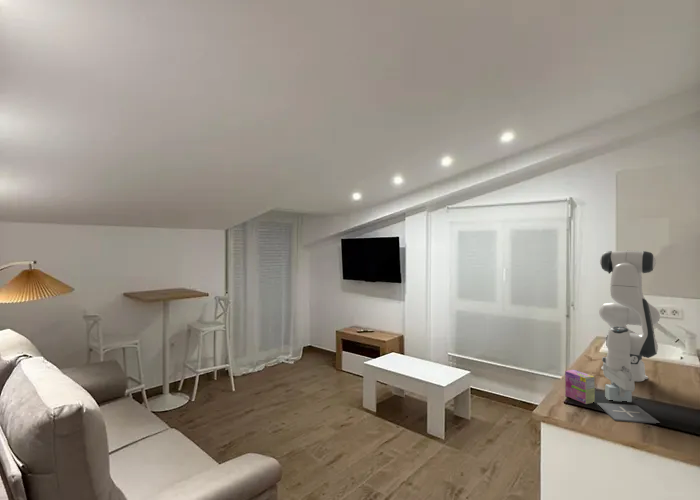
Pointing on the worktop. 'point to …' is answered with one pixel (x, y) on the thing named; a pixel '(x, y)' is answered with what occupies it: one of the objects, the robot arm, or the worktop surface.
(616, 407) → the mat
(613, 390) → the block
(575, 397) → the box
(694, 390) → the worktop surface
